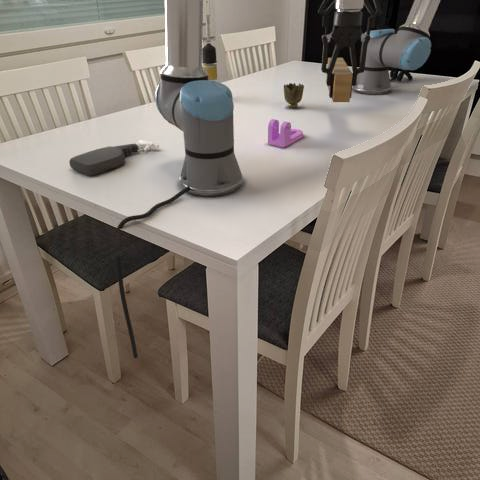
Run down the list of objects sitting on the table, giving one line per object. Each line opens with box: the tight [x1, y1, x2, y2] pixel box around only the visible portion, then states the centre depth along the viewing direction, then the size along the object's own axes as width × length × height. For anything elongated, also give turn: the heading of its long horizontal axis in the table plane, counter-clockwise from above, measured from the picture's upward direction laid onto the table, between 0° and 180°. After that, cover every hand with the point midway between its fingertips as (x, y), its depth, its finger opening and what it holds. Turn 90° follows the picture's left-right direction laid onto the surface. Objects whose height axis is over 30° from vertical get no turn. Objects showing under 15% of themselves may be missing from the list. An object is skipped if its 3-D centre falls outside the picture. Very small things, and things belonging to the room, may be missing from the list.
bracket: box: [267, 118, 304, 148], centre depth 134 cm, size 13×6×7 cm, turn 143°
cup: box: [283, 82, 305, 109], centre depth 164 cm, size 8×7×8 cm
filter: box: [202, 14, 218, 82], centre depth 171 cm, size 6×6×30 cm
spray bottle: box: [68, 139, 160, 177], centre depth 124 cm, size 3×11×24 cm
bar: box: [325, 57, 353, 103], centre depth 140 cm, size 25×5×8 cm, turn 175°
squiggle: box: [389, 67, 414, 83], centre depth 198 cm, size 11×10×15 cm
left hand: (339, 96), depth 134 cm, fingers closed on bar, 5 cm apart
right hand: (346, 38), depth 148 cm, fingers open, 13 cm apart
